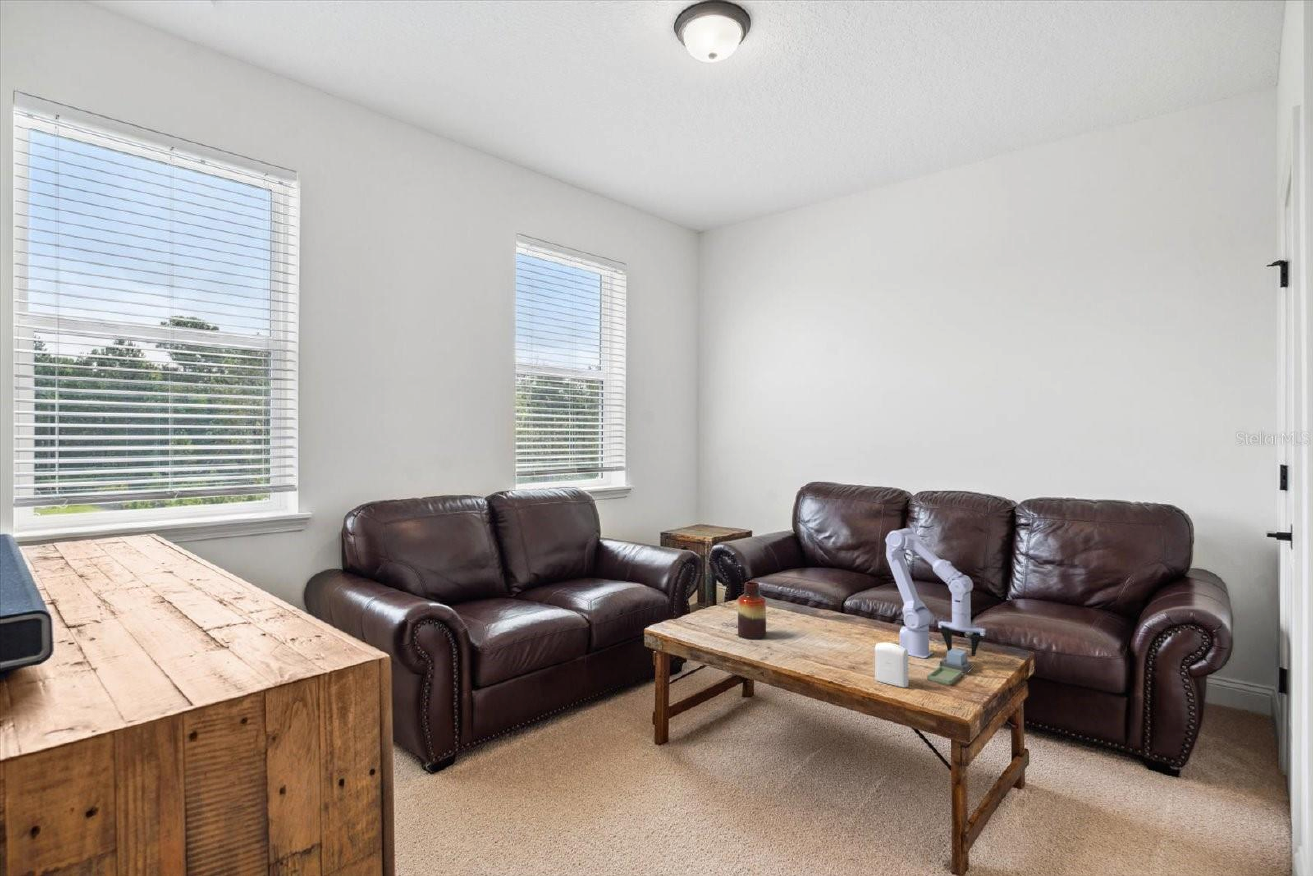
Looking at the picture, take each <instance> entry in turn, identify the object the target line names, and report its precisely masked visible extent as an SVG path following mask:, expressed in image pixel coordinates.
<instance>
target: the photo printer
mask: <svg viewBox="0 0 1313 876" xmlns="http://www.w3.org/2000/svg"><path fill="white" fill-rule="evenodd" d="M874 679H875V681H876V682H880V683H884V684H888V685H891V686H896V687H900V688H903V689H904V688H908V687H909V655H908V651H907V649H905V648H904V647H902V646H899V644H897V643H893V642H885V641H884V642H877V643H876V644H875V647H874Z"/></svg>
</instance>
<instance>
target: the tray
mask: <svg viewBox="0 0 1313 876" xmlns="http://www.w3.org/2000/svg"><path fill="white" fill-rule="evenodd" d="M962 676H963V674H962V671H960V670H956V669H951V668H947V667H942V666H940V665H939V666H938V667H937V668H935V669H934V670H932V671H931V672H930V673H928V674H927V676H926V681H929V682H933V683H936V682H938V683H937V684H941V685H945V686H950V687H951V686H952V685H953V684H954V683H956V682H957V681H958V680H959V679H961V677H962ZM958 678H959V679H958ZM957 679H958V680H957ZM956 680H957V681H956ZM953 682H954V683H953Z"/></svg>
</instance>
